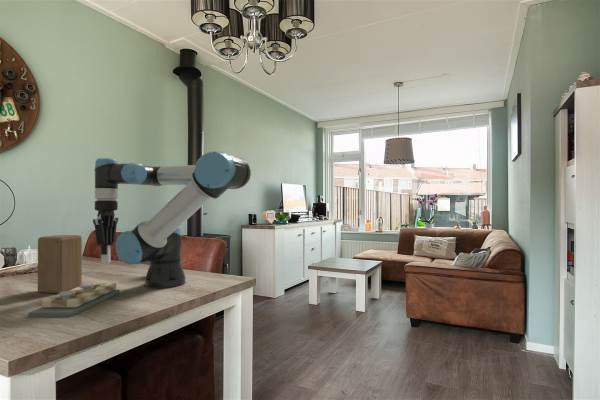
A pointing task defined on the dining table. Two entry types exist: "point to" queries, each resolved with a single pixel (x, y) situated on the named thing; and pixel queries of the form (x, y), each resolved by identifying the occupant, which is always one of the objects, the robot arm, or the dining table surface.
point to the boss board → (70, 310)
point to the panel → (80, 296)
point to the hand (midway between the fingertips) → (105, 262)
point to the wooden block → (59, 263)
